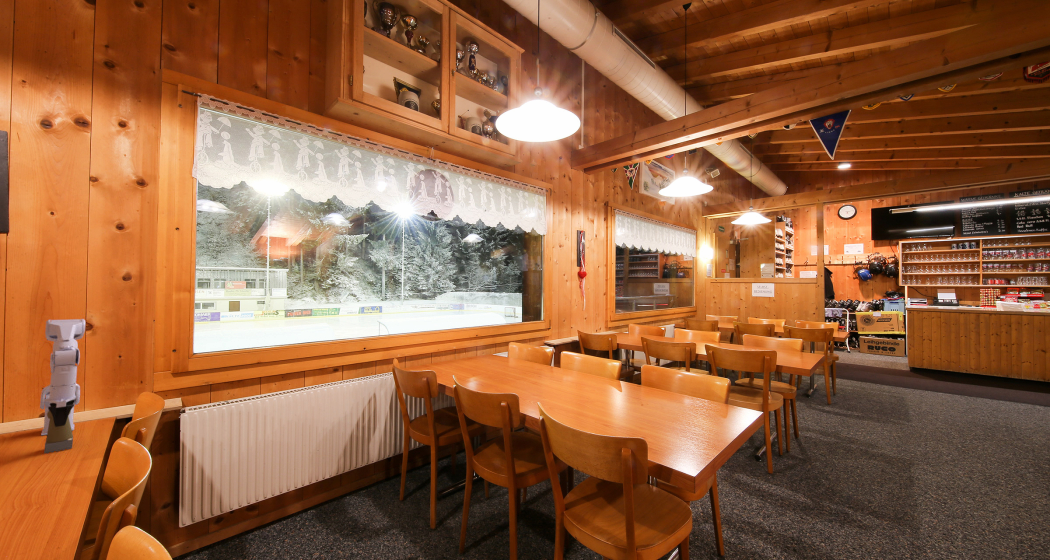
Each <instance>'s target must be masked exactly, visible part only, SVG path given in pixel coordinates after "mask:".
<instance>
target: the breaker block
mask: <svg viewBox="0 0 1050 560" xmlns="http://www.w3.org/2000/svg"><path fill="white" fill-rule="evenodd" d="M73 440H74V436H73V437H72V438H70V439H67V440H64V441H60V442H55V443H46V442H45V443H44V451H43V454H45V453H46V454H50V453H49V452H51V453H55V452H54V451H56V452H60V450H62V451H66V450H65V449H67V450H71V448H72V449H73V442H74V441H73ZM46 454H45V455H46Z"/></svg>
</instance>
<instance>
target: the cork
mask: <svg viewBox="0 0 1050 560" xmlns="http://www.w3.org/2000/svg"><path fill="white" fill-rule="evenodd" d="M70 413H71V411H70V412H69V414H70ZM47 417H48V418H49V419H50V421H49V427H48V432H47V435H46V439H45V443H55V442H60V441H64V440H67V439H70V438H72V437H73V438H74V436H73V435H74V434H73V430H72V429H71V425H70V421H69V415H68V418H67V421H66V424H65V425H64V426H58V427H55V424H54V420H53V416H52V414H51V412H50V411H49V412H48V413H47Z"/></svg>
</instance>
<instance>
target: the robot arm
mask: <svg viewBox="0 0 1050 560" xmlns="http://www.w3.org/2000/svg"><path fill="white" fill-rule="evenodd" d="M85 332H86V320H85V319H84V318H80V319H77V318H75V319H48V320H46V321H45V334H44V335H45V338H46V340H47V341H50V342H53V344H52V352H50V362H49V366H50V373H51V374H50V384H49V385H47V386H45V387H43V389H42V390H41V394H40V401H39V402H40V403H39V409H41V410H44V419H43V422H44V423H43V428H42V431H41V434H40V435H41V436H47V432H48V427H49V421H50V419H49V418H48V417H47V413H48V412H49V411H50V412H51V414H52V416H53V420H54V424H55V427H58V426H64V425H65V424H66V421H67V418H68V415H69V421H70V425H71V429H72V431H74V430H75V423H74V412H75V406H76V405H78V404H79V403H80V400H81V397H80V396H81V386H80V384H78V383H77V373H78V366H79V364H80V359H81V353H80V352H81V351H80V349H79V348H78V347H79V346H78V344H79V343H78V340H81V339H82V338H83V337H84V334H85ZM70 411H71V413H70V414H69V412H70Z"/></svg>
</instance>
